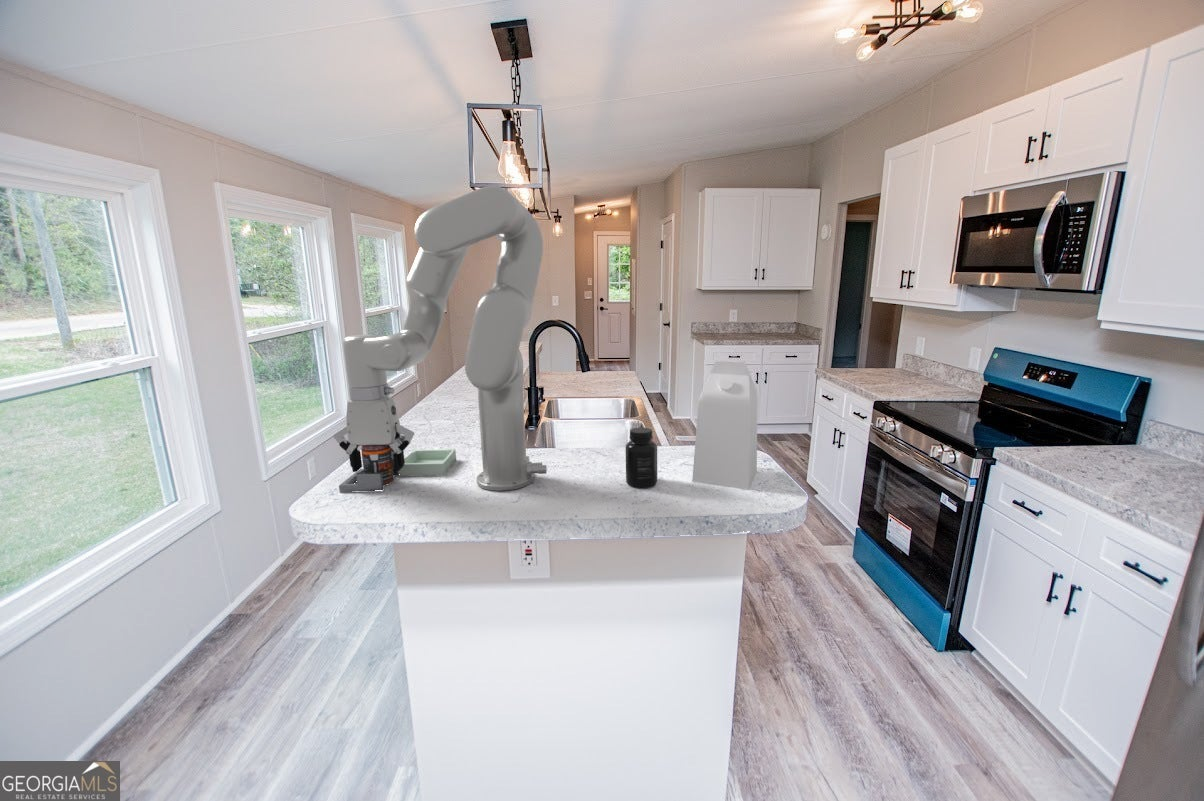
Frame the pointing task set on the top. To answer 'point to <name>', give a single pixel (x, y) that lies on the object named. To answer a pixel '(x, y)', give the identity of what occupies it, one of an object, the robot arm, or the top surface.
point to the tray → (428, 462)
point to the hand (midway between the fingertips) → (378, 469)
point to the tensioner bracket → (365, 481)
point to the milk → (727, 428)
